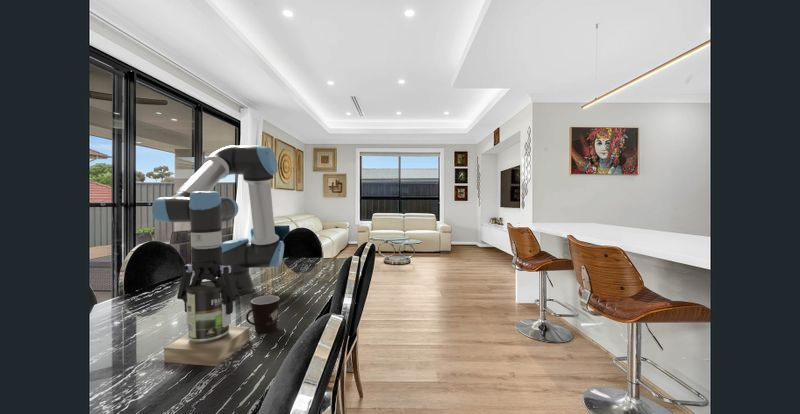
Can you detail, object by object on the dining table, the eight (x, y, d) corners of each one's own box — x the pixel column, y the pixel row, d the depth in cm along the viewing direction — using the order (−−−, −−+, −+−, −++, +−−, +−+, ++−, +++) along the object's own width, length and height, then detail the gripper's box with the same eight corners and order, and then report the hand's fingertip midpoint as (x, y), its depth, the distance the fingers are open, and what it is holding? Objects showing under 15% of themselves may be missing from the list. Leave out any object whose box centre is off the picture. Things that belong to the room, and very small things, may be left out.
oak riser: (204, 337, 103) (204, 324, 103) (249, 339, 101) (249, 327, 101) (164, 362, 88) (163, 347, 88) (216, 366, 86) (216, 351, 86)
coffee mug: (273, 322, 114) (272, 293, 114) (284, 329, 108) (284, 299, 108) (237, 332, 106) (237, 301, 106) (247, 341, 100) (247, 308, 100)
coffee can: (237, 327, 98) (236, 280, 97) (211, 343, 88) (209, 291, 87) (207, 324, 100) (206, 278, 99) (178, 340, 90) (176, 289, 89)
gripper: (159, 247, 90) (162, 327, 92) (236, 249, 88) (238, 332, 89) (180, 243, 98) (183, 317, 99) (252, 245, 95) (253, 320, 96)
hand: (209, 324), depth 94 cm, fingers closed on coffee can, 10 cm apart
